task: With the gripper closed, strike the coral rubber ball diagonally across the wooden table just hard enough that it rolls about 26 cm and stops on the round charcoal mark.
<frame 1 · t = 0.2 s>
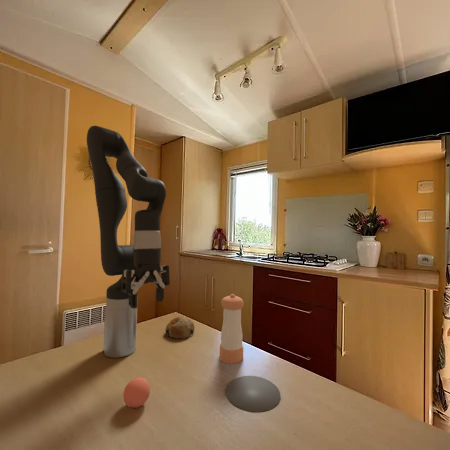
hand: (147, 304, 71), 17 cm above the table, fingers open, 8 cm apart
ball: (136, 392, 55), on the table
bread roll: (179, 334, 93), on the table
pepper shaker: (231, 357, 76), on the table
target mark: (252, 392, 60), on the table
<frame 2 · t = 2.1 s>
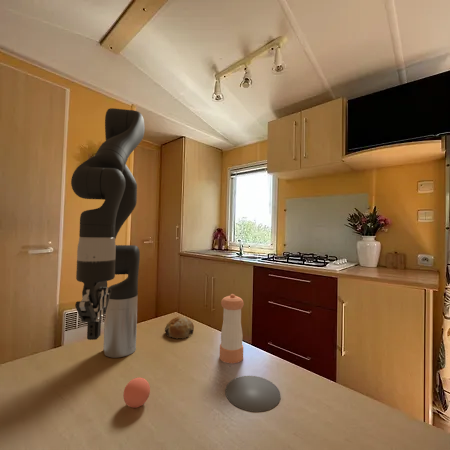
hand: (93, 338, 54), 15 cm above the table, fingers closed
nothing on the table moved.
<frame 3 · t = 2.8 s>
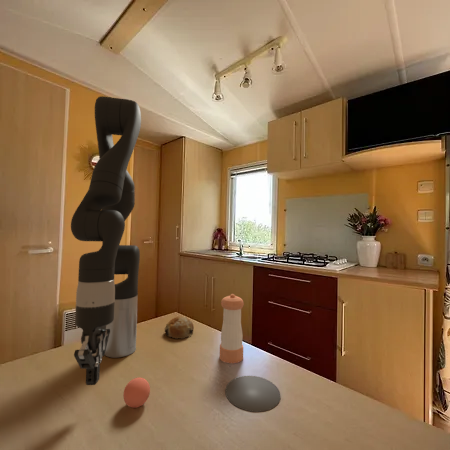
hand: (92, 382, 54), 5 cm above the table, fingers closed
nothing on the table moved.
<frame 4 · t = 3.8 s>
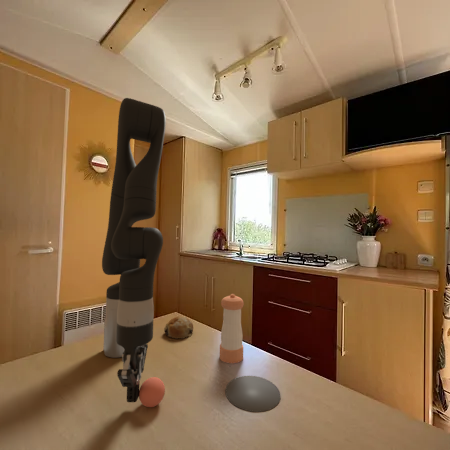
hand: (132, 399, 54), 2 cm above the table, fingers closed
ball: (152, 391, 55), on the table
everything else where it was.
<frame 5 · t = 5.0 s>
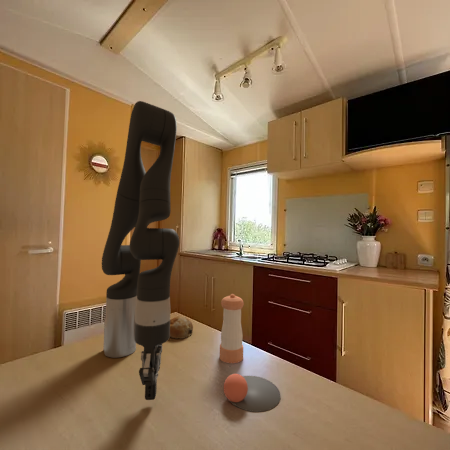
hand: (150, 397, 55), 1 cm above the table, fingers closed
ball: (235, 387, 57), on the table
everything else where it was.
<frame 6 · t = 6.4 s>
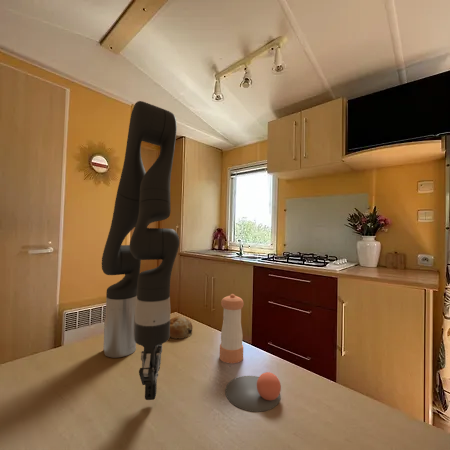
hand: (150, 397, 55), 1 cm above the table, fingers closed
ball: (268, 386, 58), on the table
everything else where it was.
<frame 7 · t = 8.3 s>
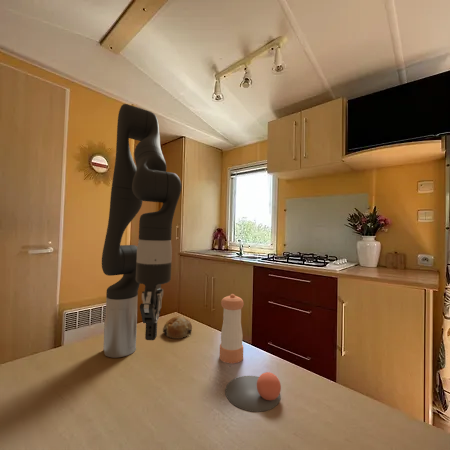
hand: (151, 338, 55), 14 cm above the table, fingers closed
nothing on the table moved.
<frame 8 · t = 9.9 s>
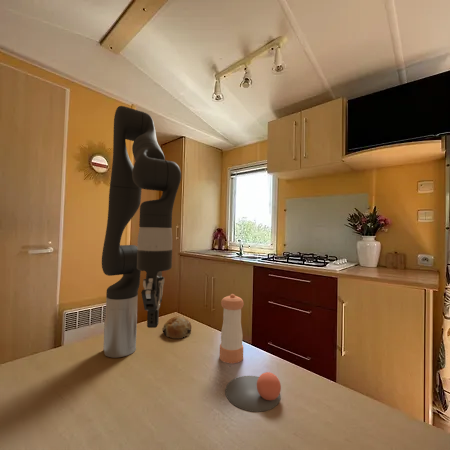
hand: (152, 326, 55), 17 cm above the table, fingers closed
at the end: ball 4.0 cm from the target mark (horizontally); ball at rest at the end (0.0 cm/s); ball moved 29.6 cm from its start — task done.
